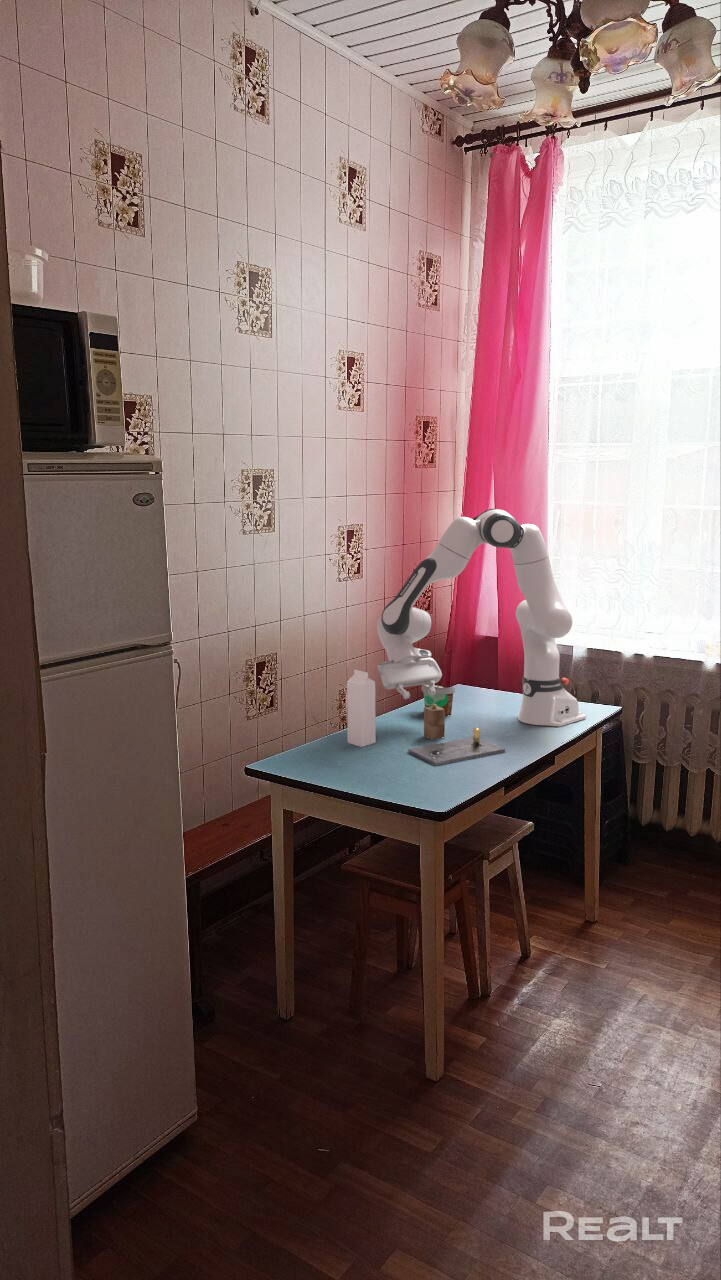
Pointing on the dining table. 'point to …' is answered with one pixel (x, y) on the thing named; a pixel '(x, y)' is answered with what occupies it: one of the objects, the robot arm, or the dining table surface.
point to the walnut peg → (434, 722)
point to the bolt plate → (456, 750)
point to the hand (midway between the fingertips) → (420, 695)
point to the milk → (361, 709)
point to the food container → (439, 697)
